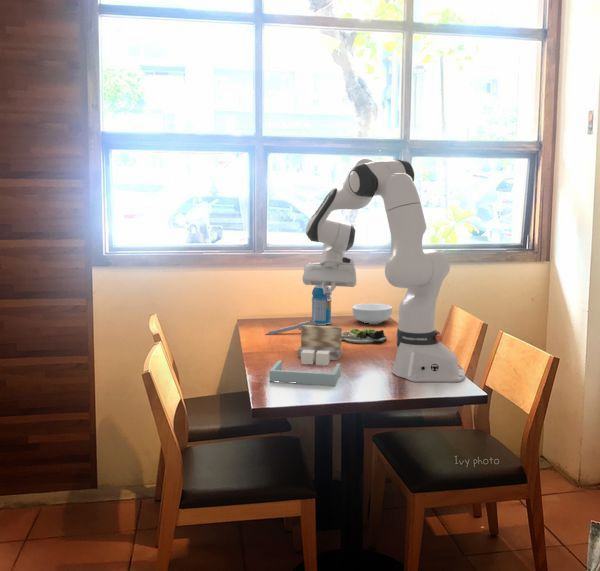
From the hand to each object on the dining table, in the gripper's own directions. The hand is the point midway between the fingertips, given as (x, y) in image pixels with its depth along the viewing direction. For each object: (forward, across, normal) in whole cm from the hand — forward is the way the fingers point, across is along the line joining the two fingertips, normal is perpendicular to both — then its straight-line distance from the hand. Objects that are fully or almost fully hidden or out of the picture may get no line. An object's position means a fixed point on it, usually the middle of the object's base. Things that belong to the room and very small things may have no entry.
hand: (327, 293), depth 238 cm
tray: (+44, 0, -18) cm, 47 cm away
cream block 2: (+32, +3, -5) cm, 33 cm away
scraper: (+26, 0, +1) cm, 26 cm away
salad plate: (+6, +14, +21) cm, 26 cm away
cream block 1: (+32, -2, -5) cm, 33 cm away
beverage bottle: (-10, -7, +38) cm, 40 cm away
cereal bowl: (-15, +14, +42) cm, 47 cm away
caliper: (+4, -16, +24) cm, 29 cm away
